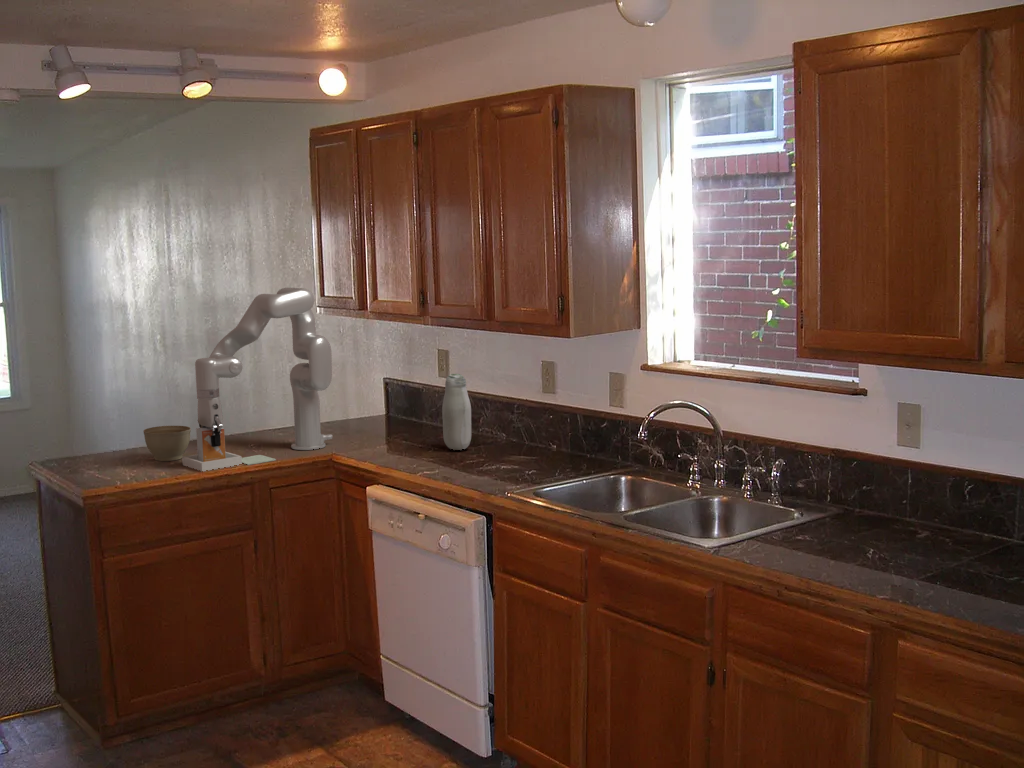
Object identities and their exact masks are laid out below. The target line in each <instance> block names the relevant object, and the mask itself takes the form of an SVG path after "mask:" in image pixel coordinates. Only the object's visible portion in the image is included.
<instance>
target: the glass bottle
mask: <svg viewBox="0 0 1024 768" xmlns="http://www.w3.org/2000/svg"><path fill="white" fill-rule="evenodd" d="M444 386H445V387H444V396H443V400H442V405H441V406H442V409H441V413H442V414H441V415H442V416H441V417H442V431H443V432H442V433H443V434H442V436H443V441H444V445H445V446H446V447H447V448H448V449H450V450H451V449H453V450H452V451H455V450H460V451H463V450H462V449H464V450H466V449H467V448H468V447H469V446H470V444H471V440H472V406H471V405H472V404H471V400H470V397H469V394H468V389H467V381H466V378H465V376H464V375H462V374H460V373H451V374H449V375H447V376H446V379H445V384H444Z"/></svg>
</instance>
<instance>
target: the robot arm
mask: <svg viewBox="0 0 1024 768" xmlns="http://www.w3.org/2000/svg"><path fill="white" fill-rule="evenodd" d="M314 304H315V296H314V294H313V293H312V291H311V290H309V289H307V288H305V287H304V288H300V287H282V288H280V289H279V290H278V291H277V292H276V293H261V294H258V295H256V296H255V297H254V298H253V299H252V301H251V303H250V305H249V306H248V308H247V310H246V311H245V313H244V314H243V316H242V317H241V319H240V321H239V322H238V323H237V325H236V326H235V327H234V328H233V329H231V330H230V331H229V332H228V333H227V334H226V335H225V336H224V337H223V338H221V339H220V341H219V342H218V343H217V344H216V346H214V348H213V350H212V352H211V353H210V354H209V357H201V358H197V359H196V360H195V361H194V366H195V367H194V369H195V385H196V399H197V423H198V428H205V427H209V428H210V429H211V432H212V435H211V444H212V447H216V446H221V439H220V435H221V428H223V426H224V417H223V409H222V402H221V399H220V396H221V395H220V379H221V378H223V379H225V378H226V379H227V378H229V379H231V378H236V377H238V376H239V375H240V374H241V373H242V371H243V363H242V361H241V360H240V359H239V358H237V357H236V356H234V355H235V354H236V353H237V352H238V351H239V350H240V349H242V348H244V347H246V346H249V345H250V344H252V343H254V342H256V341H257V340H258V339H260V336H261V334H262V333H263V331H264V330H265V328H266V327H267V325H268V323H269V321H270V320H271V319H282V318H290V320H291V321H290V322H291V328H292V330H291V331H292V336H291V337H292V353H293V355H294V356H295V357H296V358H297V359H299V360H305V361H308V362H300V363H297V364H295V365H293V367H292V368H291V370H290V372H289V382H290V386H291V391H292V399H293V401H292V402H293V419H294V421H293V422H294V440H295V441H294V442H293V443H291V446H290V447H291V449H293V450H298V451H313V449H314V450H319V448H320V449H323V448H325V447H326V443H325V441H328V440H332V439H333V434H331V433H328V434H324V433H321V409H320V406H321V405H320V403H321V402H320V395H319V392H322V391H324V390H327V389H328V388H329V386H330V385H331V384H332V383H331V382H332V377H333V369H332V368H333V365H332V364H333V363H332V361H333V360H332V358H333V357H332V356H333V355H332V348H331V344H330V341H329V340H328V338H326V337H325V336H324V335H320V334H317V331H316V330H317V329H316V318H315V314H314V312H313V310H312V308H313V307H314ZM214 428H216V429H215V431H214Z"/></svg>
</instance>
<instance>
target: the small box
mask: <svg viewBox="0 0 1024 768" xmlns="http://www.w3.org/2000/svg"><path fill="white" fill-rule="evenodd" d="M215 429H216V428H214V431H215ZM195 430H196V431H195V432H196V445H197V446H196V447H197V448H196V449H197V453H196V454H198V461H201V462H207V461H213V460H219V459H225V458H226V454H225V452H226V438H225V435H226V434H225V428H224V427H222V428H221V435H220V439H221V446H216V447H212V444H211V435H212V432H211V429H210V428H209V427H205V428H200V427H198V428H197V427H196V429H195Z"/></svg>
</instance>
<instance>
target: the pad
mask: <svg viewBox="0 0 1024 768" xmlns="http://www.w3.org/2000/svg"><path fill="white" fill-rule="evenodd" d="M241 459H242V463H244V464H243V465H246V464H247V465H246V466H251V465H256V464H261V463H267V462H268V463H269V462H273V461H277V459H276V458H272V457H270V456H266V455H263V454H257V455H251V456H244V457H241Z"/></svg>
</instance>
